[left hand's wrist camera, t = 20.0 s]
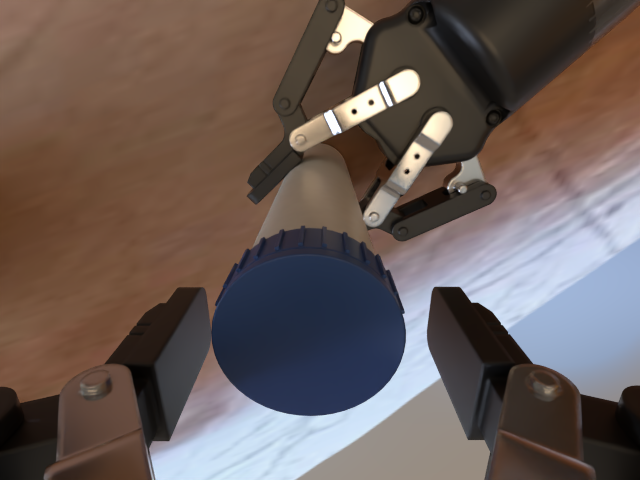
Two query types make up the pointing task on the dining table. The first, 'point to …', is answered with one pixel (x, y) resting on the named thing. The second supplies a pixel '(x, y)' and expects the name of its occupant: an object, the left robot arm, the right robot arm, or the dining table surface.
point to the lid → (309, 323)
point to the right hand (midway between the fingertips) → (284, 225)
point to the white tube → (317, 198)
